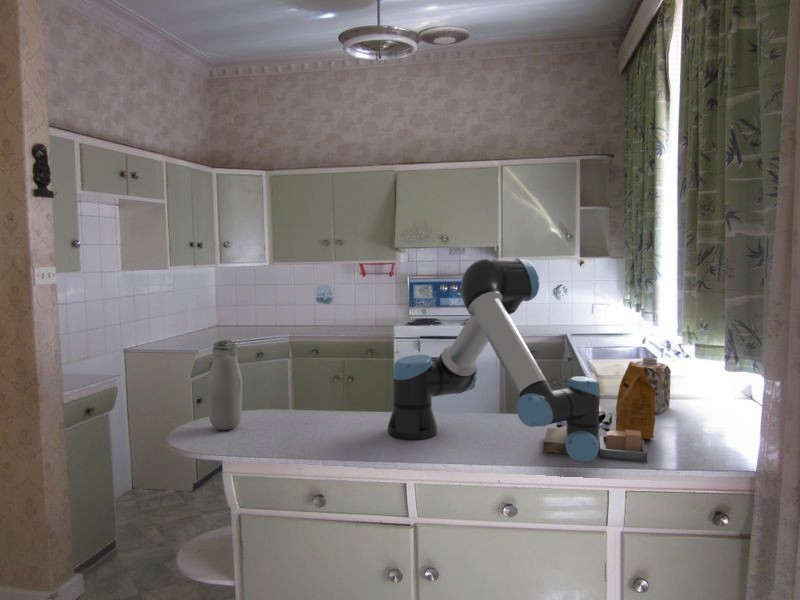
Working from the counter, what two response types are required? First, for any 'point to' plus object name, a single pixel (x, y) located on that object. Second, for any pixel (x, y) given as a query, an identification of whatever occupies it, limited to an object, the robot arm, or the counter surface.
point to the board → (555, 441)
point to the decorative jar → (658, 382)
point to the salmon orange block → (633, 440)
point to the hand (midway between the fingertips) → (583, 409)
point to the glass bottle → (225, 387)
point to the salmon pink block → (615, 440)
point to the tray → (622, 452)
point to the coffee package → (636, 402)
